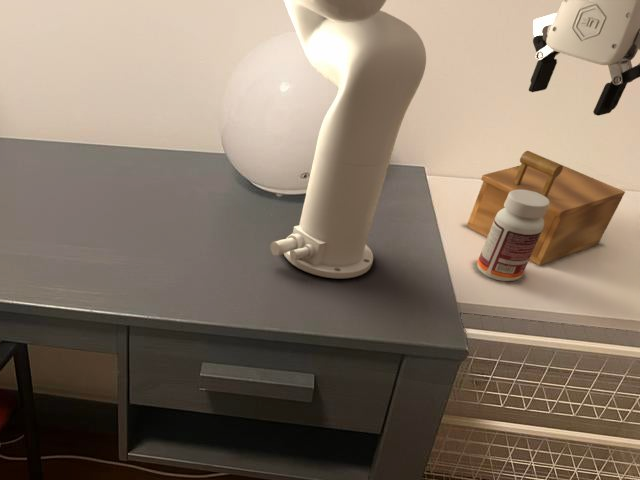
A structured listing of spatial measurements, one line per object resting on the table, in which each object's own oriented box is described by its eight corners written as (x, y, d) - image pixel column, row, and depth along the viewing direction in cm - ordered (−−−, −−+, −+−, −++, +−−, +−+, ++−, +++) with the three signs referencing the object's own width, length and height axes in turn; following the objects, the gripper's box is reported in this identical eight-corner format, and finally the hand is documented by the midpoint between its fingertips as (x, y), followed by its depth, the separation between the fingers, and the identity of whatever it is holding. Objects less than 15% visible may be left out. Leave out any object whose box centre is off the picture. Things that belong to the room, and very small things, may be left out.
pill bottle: (529, 276, 105) (564, 202, 97) (503, 287, 102) (537, 211, 95) (492, 256, 108) (522, 184, 101) (466, 266, 106) (495, 193, 99)
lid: (558, 217, 102) (576, 178, 98) (480, 179, 110) (494, 143, 107) (622, 196, 108) (641, 160, 105) (544, 163, 117) (559, 128, 113)
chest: (539, 265, 107) (562, 216, 102) (466, 226, 116) (483, 179, 111) (598, 244, 113) (622, 197, 108) (524, 208, 122) (544, 163, 117)
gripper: (546, -55, 92) (496, 85, 103) (684, -26, 81) (612, 127, 92) (582, -58, 96) (530, 79, 107) (719, -30, 85) (645, 119, 95)
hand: (568, 101), depth 99 cm, fingers open, 9 cm apart
